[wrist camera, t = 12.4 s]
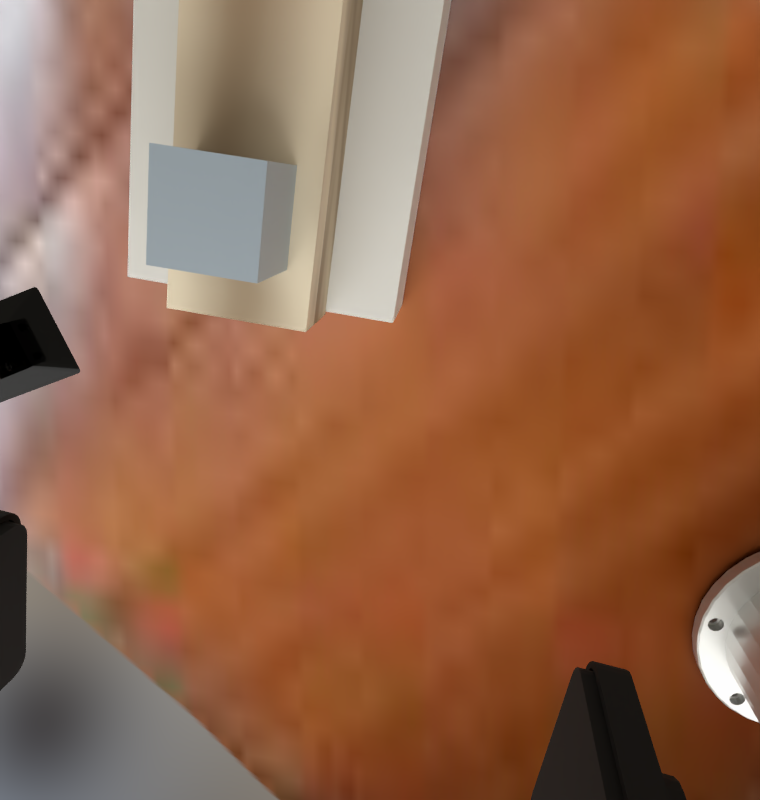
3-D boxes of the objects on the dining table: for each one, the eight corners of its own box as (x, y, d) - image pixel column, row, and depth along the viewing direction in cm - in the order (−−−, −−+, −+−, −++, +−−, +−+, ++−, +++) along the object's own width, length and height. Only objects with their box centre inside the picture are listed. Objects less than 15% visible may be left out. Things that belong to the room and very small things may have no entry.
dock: (475, -149, 28) (478, -217, 24) (402, 304, 35) (392, 322, 30) (191, -184, 29) (139, -256, 24) (171, 265, 36) (127, 276, 31)
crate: (297, 165, 25) (267, 160, 21) (286, 269, 26) (257, 283, 22) (196, 149, 25) (149, 142, 21) (191, 254, 26) (145, 264, 22)
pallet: (388, -212, 24) (375, -287, 20) (325, 314, 30) (305, 332, 27) (232, -230, 24) (191, -307, 21) (202, 293, 31) (166, 307, 27)
